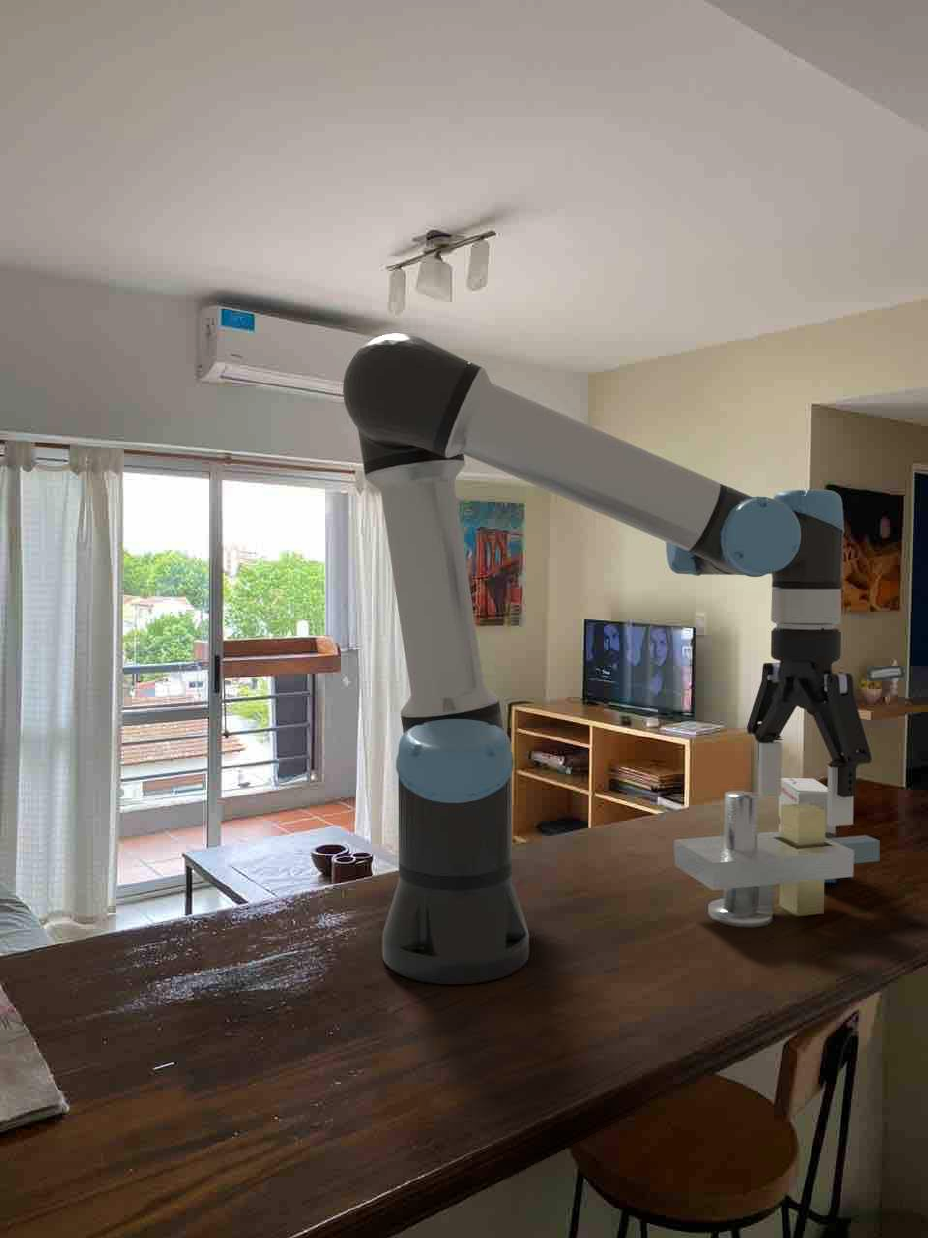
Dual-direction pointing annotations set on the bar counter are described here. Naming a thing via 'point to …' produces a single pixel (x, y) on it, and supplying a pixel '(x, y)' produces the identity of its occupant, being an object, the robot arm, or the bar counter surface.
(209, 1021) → the bar counter surface
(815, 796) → the ink box
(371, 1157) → the bar counter surface
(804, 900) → the pale yellow rectangular block
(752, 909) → the slotted post fixture
